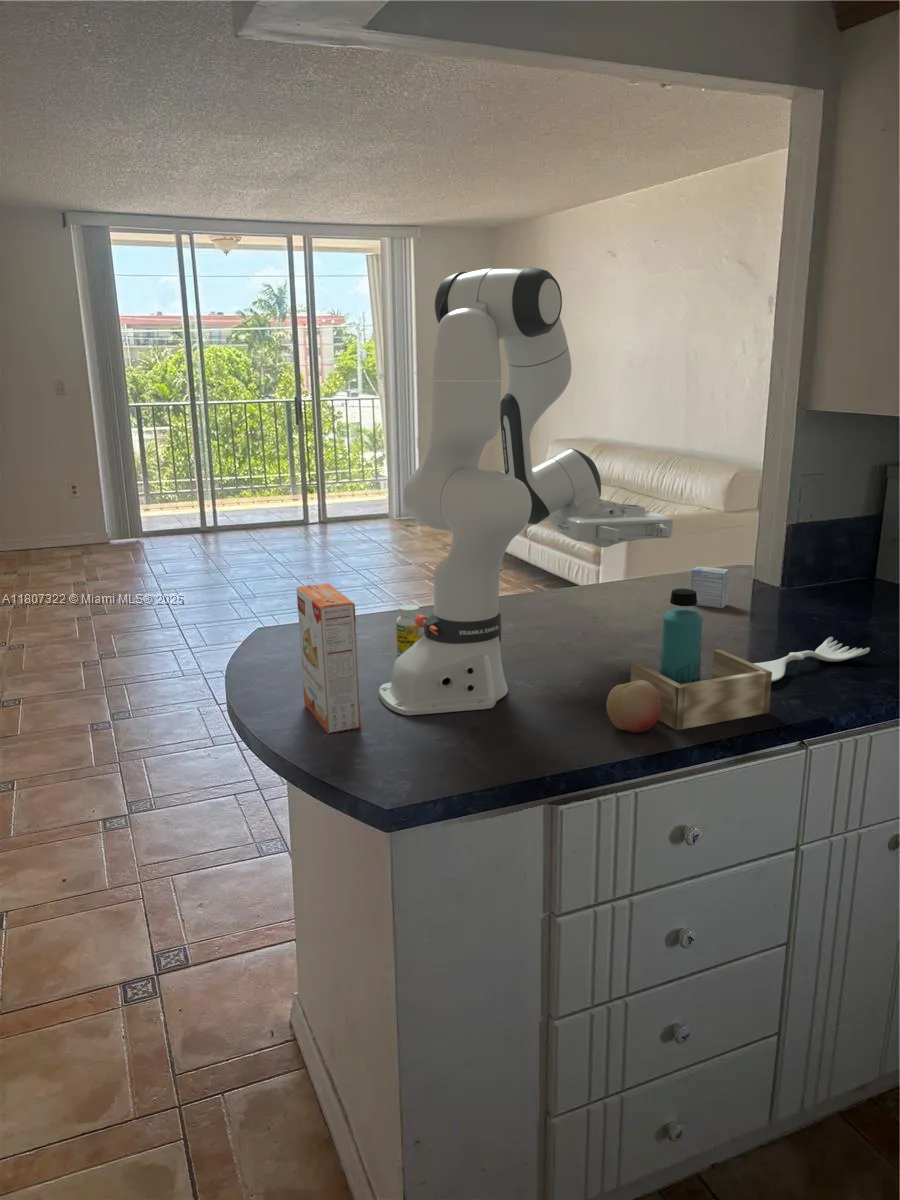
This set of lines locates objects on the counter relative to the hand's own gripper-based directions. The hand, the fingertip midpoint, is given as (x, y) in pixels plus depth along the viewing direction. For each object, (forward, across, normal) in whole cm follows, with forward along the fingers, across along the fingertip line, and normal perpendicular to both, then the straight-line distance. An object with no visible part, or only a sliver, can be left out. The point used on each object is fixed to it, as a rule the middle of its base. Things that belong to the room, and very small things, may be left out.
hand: (643, 534), depth 154 cm
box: (+17, +1, +26) cm, 32 cm away
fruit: (+21, -14, +27) cm, 37 cm away
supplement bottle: (-29, -33, +28) cm, 52 cm away
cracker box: (-3, -56, +29) cm, 63 cm away
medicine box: (-36, +44, +24) cm, 62 cm away
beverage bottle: (+17, -2, +26) cm, 31 cm away
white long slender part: (+9, +29, +26) cm, 40 cm away
